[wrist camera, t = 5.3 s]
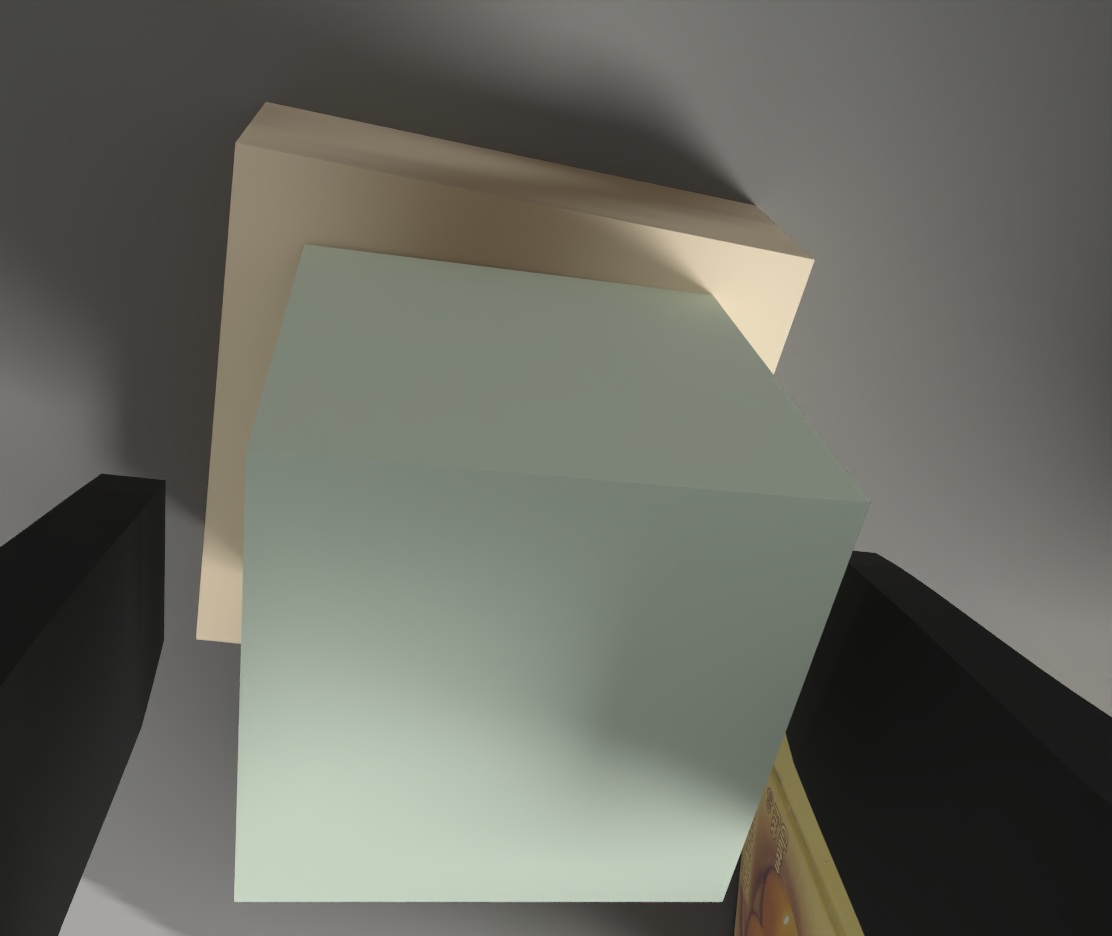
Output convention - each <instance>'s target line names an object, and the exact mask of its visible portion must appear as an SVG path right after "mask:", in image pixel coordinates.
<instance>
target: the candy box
mask: <svg viewBox="0 0 1112 936" xmlns="http://www.w3.org/2000/svg"><path fill="white" fill-rule="evenodd" d="M734 936H864V933H863V931H862V929H861V926H860V924H859V921H858V919H857V917H856V914H855V912H854V909H853V907H852V905H851V902H850V900H849V897H848V895H847V893H846V890H845V888H844V885H843V883H842V881H841V878H840V876H839V873H838V871H837V869H836V866H835V864H834V861H833V859H832V857H831V854H830V852H829V849H828V847H827V845H826V842H825V840H824V838H823V835H822V833H821V830H820V828H819V826H818V823H817V821H816V818H815V816H814V813H813V811H812V808H811V806H810V803H809V801H808V798H807V796H806V793H805V791H804V788H803V786H802V783H801V781H800V778H799V776H798V773H797V771H796V768H795V765H794V763H793V759H792V755H791V752H790V748H789V744H788V741H787V737H786V733H785V735H784V738H783V740H782V743H781V746H780V748H779V751H778V754H777V756H776V759H775V762H774V765H773V767H772V770H771V773H770V775H769V778H768V781H767V783H766V786H765V789H764V792H763V794H762V797H761V800H760V802H759V805H758V808H757V810H756V813H755V816H754V818H753V821H752V824H751V827H750V829H749V832H748V835H747V837H746V840H745V843H744V845H743V848H742V856H741V865H740V876H739V887H738V900H737V910H736V921H735V932H734Z"/></svg>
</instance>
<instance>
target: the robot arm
mask: <svg viewBox="0 0 1112 936" xmlns="http://www.w3.org/2000/svg"><path fill="white" fill-rule="evenodd" d="M165 482H166V480H157V479H148V478H138V477H128V476H118V475H108V474H100V475H99V476H98V477H96V478H95V479H93V480H92V481H90V482H89V483H88V484H86V485H85V486H83V487H82V488H81V489H79V490H78V491H76V492H75V493H74V494H72V495H71V496H69V497H68V498H67V499H65V500H64V501H63V502H61V503H60V504H59V505H57V506H56V507H54V508H53V509H52V510H50V511H49V512H48V513H46V514H45V515H44V516H42V517H41V518H40V519H38V520H37V521H36V522H34V523H33V524H31V525H30V526H29V527H27V528H26V529H25V530H23V531H22V532H20V533H19V534H18V535H16V536H15V537H14V538H12V539H11V540H10V541H8V542H7V543H5V544H4V545H2V546H1V547H0V936H58V935H59V932H60V929H61V926H62V924H63V921H64V919H65V916H66V914H67V911H68V909H69V906H70V904H71V902H72V899H73V897H74V894H75V892H76V889H77V887H78V884H79V882H80V879H81V877H82V874H83V872H84V869H85V867H86V864H87V862H88V859H89V857H90V855H91V852H92V850H93V847H94V845H95V842H96V840H97V837H98V835H99V832H100V830H101V827H102V825H103V822H104V820H105V817H106V815H107V812H108V810H109V807H110V805H111V803H112V800H113V798H114V795H115V793H116V790H117V788H118V785H119V783H120V780H121V777H122V775H123V772H124V770H125V767H126V765H127V762H128V760H129V757H130V755H131V752H132V750H133V747H134V745H135V742H136V740H137V737H138V734H139V732H140V729H141V727H142V723H143V719H144V716H145V712H146V708H147V704H148V701H149V697H150V693H151V689H152V686H153V682H154V678H155V674H156V670H157V666H158V662H159V658H160V654H161V650H162V646H163V642H164V577H165ZM785 733H786V737H787V741H788V744H789V748H790V752H791V755H792V759H793V763H794V765H795V768H796V771H797V773H798V776H799V778H800V781H801V783H802V786H803V788H804V791H805V793H806V796H807V798H808V801H809V803H810V806H811V808H812V811H813V813H814V816H815V818H816V821H817V823H818V826H819V828H820V830H821V833H822V835H823V838H824V840H825V842H826V845H827V847H828V849H829V852H830V854H831V857H832V859H833V861H834V864H835V866H836V869H837V871H838V873H839V876H840V878H841V881H842V883H843V885H844V888H845V890H846V893H847V895H848V897H849V900H850V902H851V905H852V907H853V909H854V912H855V914H856V917H857V919H858V921H859V924H860V926H861V929H862V931H863V933H864V936H1112V717H1110V716H1109V715H1107V714H1106V713H1104V712H1103V711H1101V710H1100V709H1098V708H1097V707H1095V706H1094V705H1092V704H1091V703H1089V702H1088V701H1086V700H1085V699H1083V698H1082V697H1080V696H1079V695H1077V694H1076V693H1074V692H1073V691H1071V690H1070V689H1069V688H1067V687H1066V686H1064V685H1063V684H1061V683H1060V682H1059V681H1057V680H1056V679H1054V678H1053V677H1051V676H1050V675H1049V674H1047V673H1046V672H1044V671H1043V670H1042V669H1040V668H1039V667H1037V666H1036V665H1035V664H1033V663H1032V662H1030V661H1029V660H1028V659H1026V658H1025V657H1023V656H1022V655H1021V654H1019V653H1018V652H1017V651H1015V650H1014V649H1012V648H1011V647H1010V646H1008V645H1007V644H1006V643H1004V642H1003V641H1001V640H1000V639H999V638H997V637H996V636H995V635H993V634H992V633H991V632H989V631H988V630H986V629H985V628H984V627H982V626H981V625H980V624H978V623H977V622H976V621H974V620H973V619H971V618H970V617H969V616H967V615H966V614H965V613H963V612H962V611H961V610H959V609H958V608H957V607H955V606H954V605H952V604H951V603H950V602H948V601H947V600H946V599H944V598H943V597H942V596H940V595H939V594H937V593H936V592H935V591H933V590H932V589H930V588H929V587H928V586H926V585H925V584H923V583H922V582H920V581H919V580H918V579H916V578H915V577H913V576H912V575H910V574H909V573H907V572H906V571H904V570H903V569H901V568H900V567H898V566H897V565H895V564H894V563H892V562H890V561H889V560H887V559H885V558H883V557H882V556H880V555H878V554H876V553H870V552H860V551H852V554H851V557H850V560H849V562H848V565H847V568H846V570H845V573H844V576H843V578H842V581H841V584H840V586H839V589H838V592H837V595H836V597H835V600H834V603H833V605H832V608H831V611H830V613H829V616H828V619H827V622H826V624H825V627H824V630H823V632H822V635H821V638H820V640H819V643H818V646H817V649H816V651H815V654H814V657H813V659H812V662H811V665H810V667H809V670H808V673H807V676H806V678H805V681H804V684H803V686H802V689H801V692H800V694H799V697H798V700H797V702H796V705H795V708H794V711H793V713H792V716H791V719H790V721H789V724H788V727H787V729H786V732H785Z"/></svg>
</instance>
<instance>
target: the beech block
mask: <svg viewBox="0 0 1112 936" xmlns="http://www.w3.org/2000/svg"><path fill="white" fill-rule="evenodd" d="M304 244H307V245H315V246H323V247H331V248H339V249H347V250H356V251H364V252H372V253H380V254H388V255H396V256H404V257H412V258H420V259H428V260H436V261H444V262H453V263H461V264H469V265H477V266H485V267H493V268H501V269H509V270H517V271H525V272H533V273H542V274H550V275H558V276H566V277H574V278H582V279H590V280H598V281H606V282H614V283H622V284H630V285H639V286H647V287H655V288H663V289H671V290H679V291H687V292H695V293H703V294H711V295H713V296H714V297H715V298H716V300H717V301H718V302H719V304H720V305H721V306H722V308H723V309H724V310H725V312H726V313H727V314H728V316H729V317H730V318H731V320H732V321H733V322H734V324H735V325H736V326H737V327H738V329H739V330H740V331H741V333H742V334H743V335H744V337H745V338H746V339H747V341H748V342H749V343H750V345H751V346H752V347H753V349H754V350H755V351H756V352H757V354H758V355H759V356H760V358H761V359H762V360H763V362H764V363H765V364H766V366H767V367H768V368H769V370H770V371H771V372H772V374H773V375H774V372H775V369H776V367H777V364H778V361H779V358H780V355H781V353H782V350H783V347H784V344H785V341H786V339H787V336H788V333H789V330H790V328H791V325H792V322H793V319H794V316H795V314H796V311H797V308H798V305H799V302H800V300H801V297H802V294H803V291H804V289H805V286H806V283H807V280H808V277H809V275H810V272H811V269H812V266H813V263H814V261H815V260H814V259H813V258H812V257H811V256H810V255H809V254H808V253H807V252H806V251H805V250H804V249H802V248H801V247H800V246H799V245H798V244H797V243H796V242H795V241H794V240H793V239H792V238H791V237H789V236H788V235H787V234H786V233H785V232H784V231H783V230H782V229H781V228H780V227H779V226H777V225H776V224H775V223H774V222H773V221H772V220H771V219H770V218H769V217H768V216H767V215H766V214H764V213H763V212H762V211H761V210H760V209H759V208H758V207H757V206H756V205H751V204H746V203H742V202H737V201H732V200H727V199H723V198H718V197H713V196H709V195H704V194H699V193H694V192H690V191H685V190H680V189H675V188H671V187H666V186H661V185H657V184H652V183H647V182H642V181H638V180H633V179H628V178H624V177H619V176H614V175H609V174H605V173H600V172H595V171H590V170H586V169H581V168H576V167H572V166H567V165H562V164H557V163H553V162H548V161H543V160H539V159H534V158H529V157H524V156H520V155H515V154H510V153H505V152H501V151H496V150H491V149H487V148H482V147H477V146H472V145H468V144H463V143H458V142H453V141H449V140H444V139H439V138H435V137H430V136H425V135H420V134H416V133H411V132H406V131H402V130H397V129H392V128H387V127H383V126H378V125H373V124H368V123H364V122H359V121H354V120H350V119H345V118H340V117H335V116H331V115H326V114H321V113H316V112H312V111H307V110H302V109H298V108H293V107H288V106H283V105H279V104H274V103H269V102H265V104H264V105H263V106H262V108H261V109H260V110H259V112H258V113H257V114H256V116H255V117H254V118H253V120H252V121H251V122H250V124H249V125H248V126H247V128H246V129H245V130H244V132H243V133H242V134H241V136H240V137H239V139H238V140H237V141H236V143H235V154H234V167H233V180H232V192H231V205H230V217H229V230H228V243H227V255H226V268H225V280H224V293H223V305H222V318H221V331H220V343H219V356H218V368H217V381H216V394H215V406H214V419H213V431H212V444H211V457H210V469H209V482H208V494H207V507H206V519H205V532H204V545H203V557H202V570H201V582H200V595H199V608H198V620H197V633H196V639H199V640H209V641H219V642H228V643H238V644H241V626H242V588H243V550H244V512H245V475H246V449H247V445H248V442H249V438H250V435H251V431H252V428H253V424H254V421H255V417H256V414H257V410H258V407H259V403H260V400H261V396H262V392H263V389H264V385H265V382H266V378H267V375H268V371H269V368H270V364H271V361H272V357H273V354H274V350H275V347H276V343H277V339H278V336H279V332H280V329H281V325H282V322H283V318H284V315H285V311H286V308H287V304H288V301H289V297H290V294H291V290H292V287H293V283H294V279H295V276H296V272H297V269H298V265H299V262H300V258H301V255H302V251H303V248H304Z"/></svg>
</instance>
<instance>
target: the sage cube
mask: <svg viewBox="0 0 1112 936" xmlns="http://www.w3.org/2000/svg"><path fill="white" fill-rule="evenodd" d="M869 506H870V501H869V500H868V499H867V497H866V496H865V495H864V493H863V492H862V491H861V489H860V488H859V487H858V486H857V484H856V483H855V482H854V480H853V479H852V478H851V476H850V475H849V474H848V472H847V471H846V470H845V468H844V467H843V466H842V464H841V463H840V462H839V461H838V459H837V458H836V457H835V455H834V454H833V453H832V451H831V450H830V449H829V447H828V446H827V445H826V443H825V442H824V441H823V439H822V438H821V437H820V435H819V434H818V433H817V432H816V430H815V429H814V428H813V426H812V425H811V424H810V422H809V421H808V420H807V418H806V417H805V416H804V414H803V413H802V412H801V410H800V409H799V408H798V406H797V405H796V404H795V403H794V401H793V400H792V399H791V397H790V396H789V395H788V393H787V392H786V391H785V389H784V388H783V387H782V385H781V384H780V383H779V381H778V380H777V379H776V378H775V376H774V375H773V374H772V372H771V371H770V370H769V368H768V367H767V366H766V364H765V363H764V362H763V360H762V359H761V358H760V356H759V355H758V354H757V352H756V351H755V350H754V349H753V347H752V346H751V345H750V343H749V342H748V341H747V339H746V338H745V337H744V335H743V334H742V333H741V331H740V330H739V329H738V327H737V326H736V325H735V324H734V322H733V321H732V320H731V318H730V317H729V316H728V314H727V313H726V312H725V310H724V309H723V308H722V306H721V305H720V304H719V302H718V301H717V300H716V298H715V297H714V296H713V295H711V294H703V293H695V292H687V291H679V290H671V289H663V288H655V287H647V286H639V285H630V284H622V283H614V282H606V281H598V280H590V279H582V278H574V277H566V276H558V275H550V274H542V273H533V272H525V271H517V270H509V269H501V268H493V267H485V266H477V265H469V264H461V263H453V262H444V261H436V260H428V259H420V258H412V257H404V256H396V255H388V254H380V253H372V252H364V251H356V250H347V249H339V248H331V247H323V246H315V245H307V244H304V248H303V251H302V255H301V258H300V262H299V265H298V269H297V272H296V276H295V279H294V283H293V287H292V290H291V294H290V297H289V301H288V304H287V308H286V311H285V315H284V318H283V322H282V325H281V329H280V332H279V336H278V339H277V343H276V347H275V350H274V354H273V357H272V361H271V364H270V368H269V371H268V375H267V378H266V382H265V385H264V389H263V392H262V396H261V400H260V403H259V407H258V410H257V414H256V417H255V421H254V424H253V428H252V431H251V435H250V438H249V442H248V445H247V449H246V475H245V512H244V550H243V588H242V626H241V663H240V701H239V739H238V776H237V814H236V852H235V890H234V902H723V899H724V897H725V894H726V891H727V889H728V886H729V883H730V881H731V878H732V875H733V872H734V870H735V867H736V864H737V862H738V859H739V856H740V854H741V851H742V848H743V845H744V843H745V840H746V837H747V835H748V832H749V829H750V827H751V824H752V821H753V818H754V816H755V813H756V810H757V808H758V805H759V802H760V800H761V797H762V794H763V792H764V789H765V786H766V783H767V781H768V778H769V775H770V773H771V770H772V767H773V765H774V762H775V759H776V756H777V754H778V751H779V748H780V746H781V743H782V740H783V738H784V735H785V732H786V729H787V727H788V724H789V721H790V719H791V716H792V713H793V711H794V708H795V705H796V702H797V700H798V697H799V694H800V692H801V689H802V686H803V684H804V681H805V678H806V676H807V673H808V670H809V667H810V665H811V662H812V659H813V657H814V654H815V651H816V649H817V646H818V643H819V640H820V638H821V635H822V632H823V630H824V627H825V624H826V622H827V619H828V616H829V613H830V611H831V608H832V605H833V603H834V600H835V597H836V595H837V592H838V589H839V586H840V584H841V581H842V578H843V576H844V573H845V570H846V568H847V565H848V562H849V560H850V557H851V554H852V551H853V549H854V546H855V543H856V541H857V538H858V535H859V533H860V530H861V527H862V524H863V522H864V519H865V516H866V514H867V511H868V508H869Z"/></svg>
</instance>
